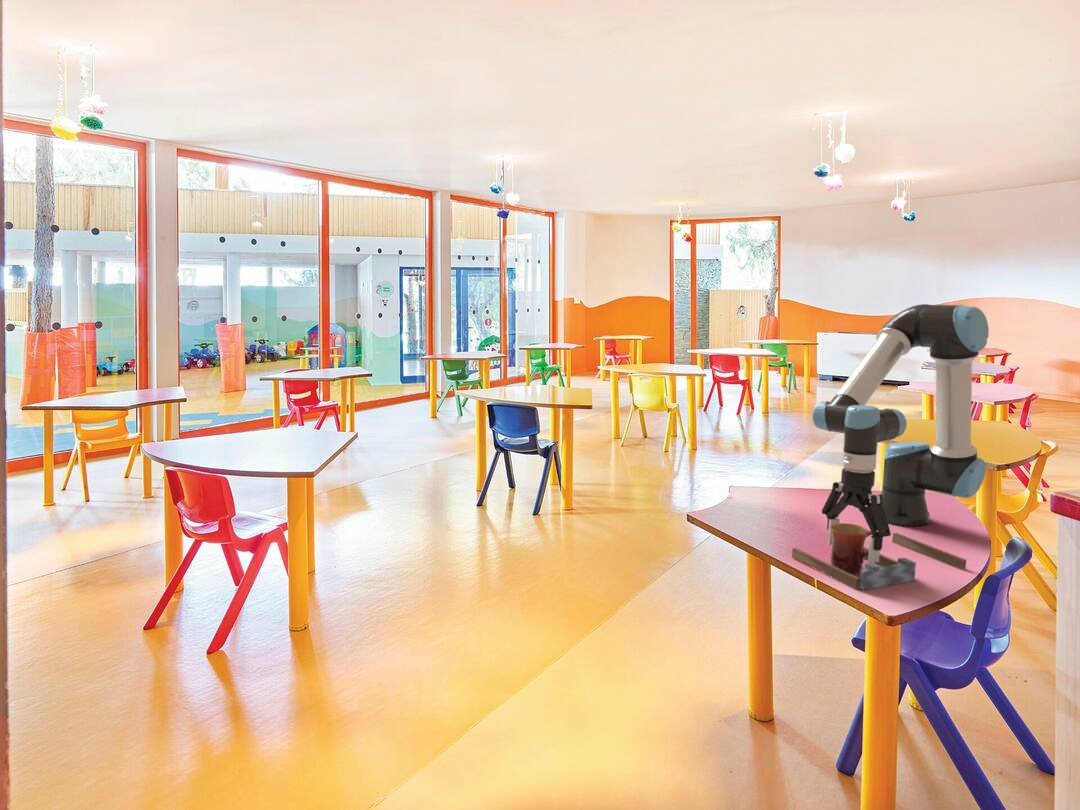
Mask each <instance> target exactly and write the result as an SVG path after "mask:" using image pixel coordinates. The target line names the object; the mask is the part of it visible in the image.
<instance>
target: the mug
mask: <svg viewBox="0 0 1080 810" xmlns="http://www.w3.org/2000/svg"><path fill="white" fill-rule="evenodd" d="M830 530H831V534H832V545H831V552H830V564H831V565H833V566H835V567H837V568H839V569H841V570H843V571H845V572H847V573H849V574H852V573H853V574H855V573H858V572H860V571H861V570H862V567H863V564H864V558H863V557H866V556H868V554H869V550H867V551H864V547H865V543H866V539H867V538H868V537H870V536H872V535H873V534H872V532H871V530H868V529H867V528H866V527H864V526H861V525H858V524H853V523H840V522H839V524H833V525H831V526H830Z"/></svg>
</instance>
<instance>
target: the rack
mask: <svg viewBox="0 0 1080 810" xmlns="http://www.w3.org/2000/svg"><path fill="white" fill-rule="evenodd" d="M891 542H892V543H894V544H896V543H897V545H899V546H902V547H904V548H907V549H909V550H912V551H914V552H916V553H918V554H921V555H924V556H926V557H929V558H931V559H934V560H937V561H939V562H942V563H944V564H947V565H949V566H951V565H952V567H954V568H956V567H957V569H959V570H961V569H962V570H961V571H964V570H963V569H965V570H966V568H967V559H966V558H962V557H961V556H958V555H955V554H952V553H949V552H948V551H945V550H942V549H939V548H937V547H934V546H932V545H929V544H926V543H924V542H921V541H918V540H916V539H913V538H910V537H908V536H906V535H903V534H901V533H897V532H892V541H891ZM791 549H792V552H791V558H792V557H793V558H792V559H794V558H795V559H794V560H796V559H797V560H796V561H798V560H799V561H798V562H800V561H801V562H800V563H802V562H804V563H806V564H808V565H810V566H812V567H814V568H816V569H818V570H820V571H822V572H824V573H825V574H824V573H823V574H824V575H826V574H827V575H826V576H828V575H829V576H828V577H830V576H832V577H833V578H832V577H831V578H832V579H834V578H835V579H834V580H836V579H837V580H836V581H838V582H840V581H841V582H840V583H842V582H843V583H842V584H844V583H845V584H844V585H846V584H847V585H846V586H848V585H849V586H848V587H850V588H852V587H853V588H852V589H854V590H861V589H862V590H861V591H865V590H864V589H867V590H872V589H871V588H873V589H877V588H876V587H878V588H883V587H888V585H889V586H894V585H899V583H900V584H903V583H904V584H905V583H909V582H910V581H911V582H915V578H916V577H915V576H916V567H917V562H915V561H913V560H912V559H909V558H906V557H899V558H897V560H895V559H893V558H892V557H891V558H890V557H888V556H886V555H884V554H881V553H880V555H879V562H874V563H869V562H867V563H865V565H864V568H865V569H861V570H860V571H859V572H860V573H859V577H858V576H855V575H853V574H852V573H847V572H845V571H843V570H841V569H839V568H837V567H835V566H833V565H831V563H828V562H827V561H824V560H822V559H820V558H818V557H816V556H814V555H812V554H809V553H808V552H805V551H804V550H801V549H798V548H797V547H792V548H791ZM867 550H869V548H867V547H865V546H864V551H867ZM863 560H867V561H868V556H866V557H863ZM804 563H803V564H804ZM806 564H805V565H806ZM808 565H807V566H808ZM810 566H809V567H810ZM812 567H811V568H812ZM814 568H813V569H814ZM816 569H815V570H816ZM818 570H817V571H818ZM820 571H819V572H820ZM822 572H821V573H822ZM893 584H894V585H893ZM882 586H883V587H882Z"/></svg>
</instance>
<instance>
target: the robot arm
mask: <svg viewBox="0 0 1080 810" xmlns="http://www.w3.org/2000/svg"><path fill="white" fill-rule="evenodd" d="M987 339H989V323H988V320H987V316H986V315H985V313H984V312H983V310H981V309H980V308H978V307H976V306H970V305H969V306H968V305H963V304H959V305H957V304H927V303H925V304H924V303H923V304H918V305H917V304H916V305H912V306H910V307H908V308H905V309H903V310H901V311H900V312H898V313H897V314H895V315H894V316H893V317H891V318H890V319H889V320H888V321H886V323H884V324H883V326H882V327H881V328H880V329H879V331H878V332H877V333H876V341H875V342H874V344H873V345H872V346H871V347H870V348H869V350H868V351H867V353H866V354H865V355H864V357H863V358H862V360H861V361H860V362H859V363H858V365H857V366H856V368H855V369H854V370H853V372H852V373H851V374H850V375H849V377H848V378H847V379H846V381H845V382H844V384H842V386H841V387H840V388H839V390H838V392H837V393H836V394H835V396H834V397H833V398H832V399H831V401H827V400H826V401H824V400H821V401H819V402H817V403H816V405H815V406H814V408H813V410H812V415H811V416H812V417H811V418H812V422H813V425H814V427H816V428H817V429H819V430H823V431H826V432H830V433H831V432H833V433H839V434H844V435H843V436H844V439H843V452H842V463H841V464H842V467H843V468H842V469H841V474H840V475H841V478H840V481H837V482H833V484H832V487H831V488H832V489H831V492H830V493H829V495H828V497H827V499H826V502H825V503H824V505H823V507H822V509H821V513H822V514H823V515H826V518H827V522H826V523H827V524H826V529H827V531H828V533H827V545H829V546H832V534H831V530H830V526H831V525H833V524H839V523H840V518H839V515H841V513H842V512H843V511H845V509H846V508H847V507H848V506H852V507H854V508H855V509H858V510H859V512H860V513H862V515H863V517H864V520H865V522H866V523H867V526H868V528H869V531H871V532H872V534H873V535H870V536H869V542H868V544H869V545H868V549H869V554H868V560H867V563H873V564H875V563H874V562H879V555H880V554H881V553H880V552H881V550H882V549H883V539H884V538H885V537H891V535H892V534H891V529H890V526H889V524H892V525H898V526H906V527H907V526H909V527H917V526H918V527H919V525H921V526H925V525H924V524H926V525H927V523H928V522H929V523H930V518H931V517H930V512H929V510H928V504H927V501H926V500H927V499H926V491H930V492H934V493H939V494H943V495H947V496H951V497H953V498H955V497H959V498H964V499H968V498H969V499H970V498H972V497H973V496H975V495H976V494H977V493H978V491H979V490H980V488H981V486H982V484H983V482H984V480H985V477H986V473H987V471H986V470H987V464H986V461H985V460H984V459H982V458H981V457H978V449H977V447H976V446H974V444H972V394H973V393H972V389H973V388H972V387H973V384H972V383H973V380H972V379H973V376H972V375H973V361H974V360H975V359H976V358H977V357H978V356H979V353H980V351H982V350H983V349H985V348H986V345H987V344H988V340H987ZM916 347H917V348H918V347H922V348H929V356H930V358H931V359H932V360H934V361H935V364H936V366H935V367H936V368H935V373H936V374H935V375H936V376H935V378H936V379H935V381H936V382H935V384H936V385H935V388H936V389H935V390H936V391H935V397H936V401H935V402H936V403H935V405H936V406H935V407H936V408H935V413H936V414H935V418H936V419H935V421H936V422H935V423H936V425H935V426H936V429H935V434H936V437H935V438H936V441H935V443H934V444H933V445H932V446H930V444H929V443H928V442H922V441H902V442H901V441H900V442H892V443H889V444H888V445H887V446H886V448H885V453H884V457H883V460H884V462H883V473H882V474H883V475H882V489H881V492H880V494H873V493H872V488H874V486H875V478H876V472H875V470H876V469H877V468H876V465H877V453H878V451H877V450H878V443H880V442H884V441H888V440H889V441H891V440H893V439H894V440H895V439H896V438H899V437H901V436H902V435H903V434H904V433H905V431H906V430H907V424H908V423H907V419H906V416H905V415H904V414H903V413H902V411H900V410H899V409H895V408H883V409H879V408H878V407H876V406H874V405H868V404H867V403H868V402H869V400H870V399H871V398H872V396H873V395H874V393H875V392H876V391H877V390H878V388H879V387H880V386H881V384H882V383H883V381H884V380H885V378H886V377H887V375H888V374H890V372H891V370H892V369H893V368H894V366H895V365H896V363H897V362H898V360H900V358H901V357H902V356H906V355H907V354H908V353H910V351H911V350H912V349H913V348H916ZM842 494H843V495H842ZM929 523H928V524H929Z"/></svg>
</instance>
